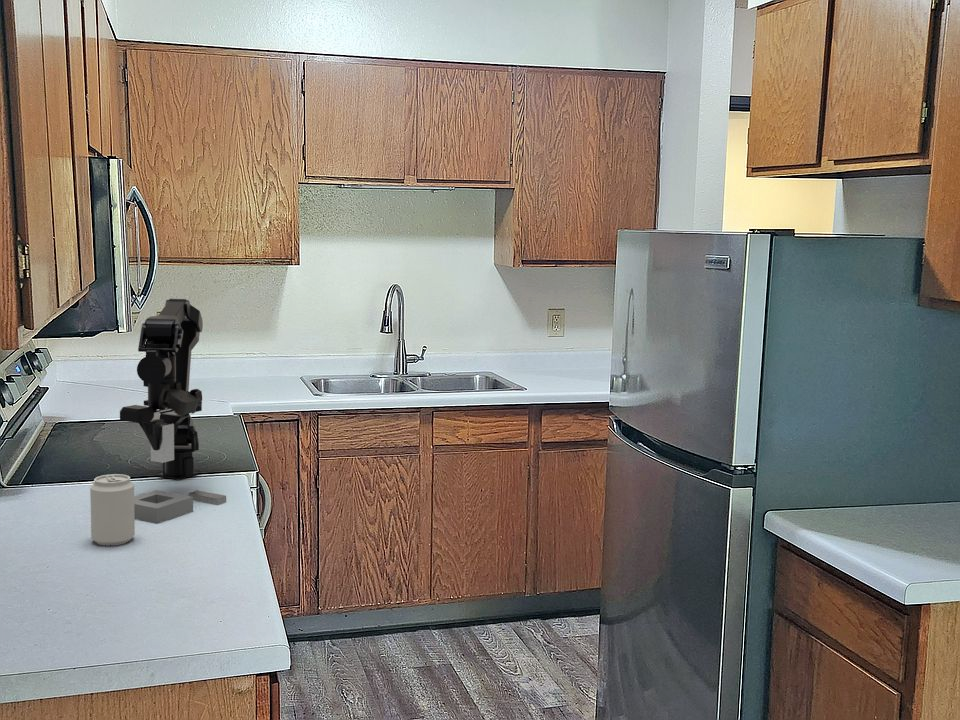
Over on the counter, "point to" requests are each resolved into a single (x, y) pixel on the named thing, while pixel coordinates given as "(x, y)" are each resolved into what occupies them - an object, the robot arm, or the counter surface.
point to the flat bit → (208, 497)
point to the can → (112, 509)
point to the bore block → (161, 506)
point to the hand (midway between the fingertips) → (162, 448)
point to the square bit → (164, 444)
